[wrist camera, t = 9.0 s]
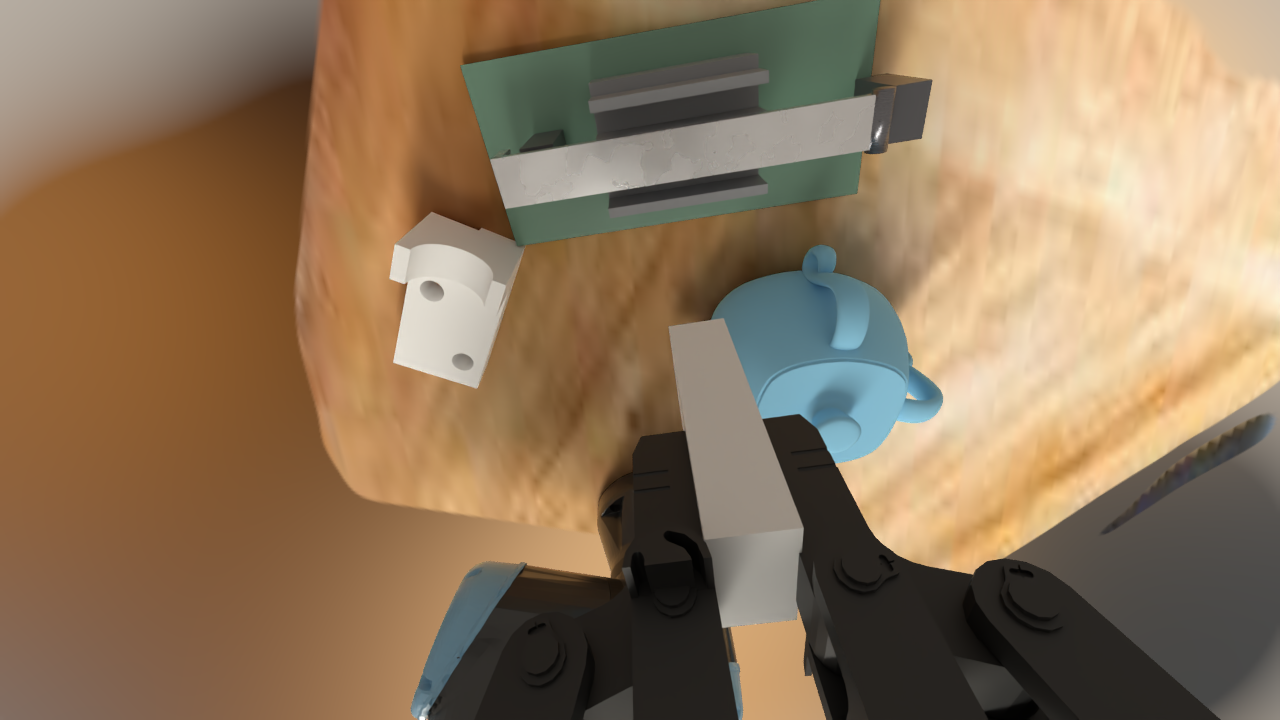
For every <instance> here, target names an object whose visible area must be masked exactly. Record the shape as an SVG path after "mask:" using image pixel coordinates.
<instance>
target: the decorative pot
mask: <svg viewBox="0 0 1280 720" xmlns="http://www.w3.org/2000/svg"><path fill="white" fill-rule="evenodd" d="M835 266H836V253H835V250H834V249H833V248H831V247H829V246H826V245H817V246H814V247H812V248H810V249H809V251H808V252H807V253H806V255H805V257H804V260H803V264H802V270H799V271H790V272H782V273H777V274H772V275H768V276H765V277H761V278H758V279H755V280H752V281H749V282H746V283H744V284H742V285H740V286H739V287H737V288H735V289H734V290H733V291H731V292H730V293H729V294H728V295H726V296H725V297H724V298H723V300H722V301H721V302H720V303H719V304H718V306H717V308H716V309H715V311H714V313H713V315H712V318H711V320H714V319H721V318H724V320H725V323H726V326H727V328H728V331H729V334H730V336H731V339H732V341H733V344H734V347H735V349H736V352H737V354H738V357H739V360H740V362H741V365H742V368H743V370H744V373H745V375H746V378H747V381H748V383H749V386H750V389H751V391H752V394H753V396H754V399H755V402H756V404H757V407H758V409H759V412H760V415H761V417H762V419H765V418H772V417H780V416H787V415H794V414H800V415H802V416H803V417H804V418H805V419H806V420H808V421H809V422H810V423H811V424H812V425H814V426H815V427H816V428H817V429H818V431H819V433H820V435H821V437H822V438H823V440H824V442H825V444H826V446H827V450H828V451H829V452H830V454H831V456H832V458H833V460H834V462H835V463H841V462H846V461H851V460H854V459H858V458H860V457H863V456H865V455H867V454H869V453H871V452H873V451H874V450H876V449H877V448H878V447H879V446H880V445H881V444H882V442H883V441H884V440H885V439H886V437H887V436H888V434H889V433H890V431H891V429H892V428H893V426H894V424H895V422H896V421H901V422H907V423H920V422H925V421H927V420H929V419H931V418H932V417H934V416H935V415H936V414H937V413H938V411H939V410H940V408H941V406H942V403H943V395H942V392H941V391H940V389H939V388H938V387H937V386H936V385H935V384H934V383H933V382H932V381H931V380H930V379H929V378H927V377H926V376H925V375H923V374H922V373H921V372H919V371H918V370H916V369H915V368H913V367H912V365H913V359H912V356H911V355H910V353H909V352H908V346H907V339H906V336H905V333H904V330H903V327H902V324H901V322H900V320H899V317H898V315H897V314H896V312H895V310H894V309H893V307H892V306H891V304H890V303H889V301H888V300H887V299H886V298H885V297H884V295H883V294H881V293H880V292H879V291H878V290H877V289H876V288H874V287H872V286H870V285H869V284H867V283H865V282H862V281H860V280H857V279H855V278H852V277H850V276H847V275H843V274H838V273H833V271H834V269H835ZM907 392H908V393H910V394H911V395H912V396H913V397H914V398H916V399H917V400H912V399H906V395H907Z"/></svg>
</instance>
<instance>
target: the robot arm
mask: <svg viewBox="0 0 1280 720" xmlns="http://www.w3.org/2000/svg"><path fill="white" fill-rule="evenodd" d="M668 327H669V334H670V342H671V349H672V356H673V364H674V371H675V378H676V386H677V393H678V400H679V407H680V413H681V419H682V425H683V431H679V432H672V433H664V434H657V435H650V436H642V437H641V438H640V440H639V442H638V444H637V446H636V449H635V451H634V453H633V473H630V474H628V475H626V476H623V477H622V478H620V479H618V480H617V481H615V482H614V483H612V484H611V485H610V486H609V487H608V488H607V489H606V490H605V492H604V493H603V495H602V496H601V498H600V501H599V505H598V518H597V525H598V531H599V535H600V538H601V541H602V544H603V548H604V551H605V554H606V557H607V560H608V563H609V567H610V570H611V578H606V577H600V576H593V575H587V574H581V573H574V572H568V571H560V570H554V569H548V568H541V567H535V566H528V565H527V563H525V562H521V563H520V564H511V563H501V562H490V561H489V562H482V563H479V564H477V565H476V566H474V567H473V568H472V569H471V570H470V571H469V572H468V573H467V574H466V575H465V577H464V579H463V580H462V582H461V584H460V586H459V588H458V590H457V592H456V594H455V596H454V598H453V600H452V602H451V604H450V607H449V609H448V611H447V613H446V615H445V618H444V620H443V622H442V625H441V627H440V629H439V632H438V634H437V636H436V639H435V642H434V644H433V646H432V649H431V651H430V654H429V656H428V659H427V661H426V664H425V667H424V670H423V674H422V676H421V679H420V682H419V686H418V688H417V690H416V692H415V695H414V698H413V701H412V706H411V713H412V715H413V716H414V717H415V718H417V719H418V720H426V719H428V720H742V716H743V704H742V695H741V686H740V676H739V673H740V667H739V664H738V663H737V660H736V655H735V649H734V643H733V638H732V633H731V627H735V626H744V625H753V624H762V623H771V622H780V621H789V620H797V611H798V609H799V612H800V615H801V618H802V621H803V625H804V628H805V631H806V642H805V652H804V670H805V676H811V675H812V674H813V677H814V680H815V683H816V687H817V690H818V693H819V696H820V700H821V703H822V706H823V710H824V713H825V716H826V720H1220V719H1219V718H1218V717H1216V715H1215V714H1213V713H1212V712H1211V711H1210V710H1209V709H1208V708H1207V707H1205V706H1204V705H1203V704H1202V703H1201V702H1200V701H1199V700H1198V699H1196V698H1195V697H1194V696H1193V695H1192V694H1190V692H1189V691H1187V690H1186V689H1185V688H1184V687H1183V686H1182V685H1181V684H1180V683H1178V682H1177V681H1176V680H1175V679H1174V678H1173V677H1172V676H1170V675H1169V674H1168V673H1167V672H1166V671H1165V670H1164V669H1162V668H1161V667H1160V666H1159V665H1158V664H1157V663H1156V662H1155V661H1154V660H1152V659H1151V658H1150V657H1149V656H1148V655H1147V654H1146V653H1144V652H1143V651H1142V650H1141V649H1140V648H1139V647H1138V646H1136V645H1135V644H1134V643H1133V642H1132V641H1131V640H1130V639H1129V638H1127V637H1126V636H1125V635H1124V634H1123V633H1122V632H1121V631H1120V630H1118V629H1117V628H1116V627H1115V626H1114V625H1113V624H1112V623H1110V622H1109V621H1108V620H1107V619H1106V618H1105V617H1104V616H1102V615H1101V614H1100V613H1099V612H1098V611H1097V610H1096V609H1095V608H1093V607H1092V606H1091V605H1090V604H1089V603H1088V602H1087V601H1086V600H1084V599H1083V598H1082V597H1081V596H1080V595H1079V594H1078V593H1076V592H1075V591H1074V590H1073V589H1072V588H1071V587H1070V586H1068V585H1067V584H1065V583H1064V582H1063V581H1061V580H1060V579H1058V578H1057V577H1056V576H1054V575H1053V574H1051V573H1050V572H1048V571H1046V570H1043V569H1041V568H1039V567H1036V566H1034V565H1032V564H1029V563H1027V562H1023V561H1017V560H1010V559H998V560H992V561H987V562H985V563H984V564H983V565H981V566H980V567H979V568H977V569H976V570H975V572H974V575H972V574H967V573H961V572H956V571H950V570H945V569H939V568H933V567H928V566H924V565H921V564H917V563H913V562H911V561H909V560H906V559H904V558H902V557H900V556H898V555H896V554H895V553H894V552H893V551H891V550H890V549H889V548H887V547H886V546H884V545H883V544H882V543H881V542H880V541H879V540H878V539H877V538H876V537H875V536H874V534H873V533H872V532H871V530H870V529H869V527H868V525H867V523H866V521H865V519H864V518H863V516H862V514H861V512H860V510H859V508H858V506H857V504H856V502H855V500H854V498H853V496H852V494H851V492H850V491H849V489H848V487H847V485H846V483H845V481H844V479H843V477H842V475H841V473H840V471H839V469H838V467H836V465H835V462H834V460H833V458H832V456H831V454H830V452H829V451H828V450H827V446H826V444H825V442H824V440H823V438H822V437H821V435H820V433H819V431H818V429H817V428H816V427H815V426H814V425H812V424H811V423H810V422H809V421H808V420H806V419H805V418H804V417H803V416H802V415H800V414H794V415H787V416H780V417H772V418H765V419H762V417H761V415H760V412H759V409H758V407H757V404H756V402H755V399H754V396H753V394H752V391H751V389H750V386H749V383H748V381H747V378H746V375H745V373H744V370H743V368H742V365H741V362H740V360H739V357H738V354H737V352H736V349H735V347H734V344H733V341H732V339H731V336H730V334H729V331H728V328H727V326H726V323H725V320H724V318H721V319H714V320H708V321H701V322H694V323H688V324H681V325H674V326H668Z"/></svg>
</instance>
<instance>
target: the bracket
mask: <svg viewBox="0 0 1280 720" xmlns="http://www.w3.org/2000/svg"><path fill="white" fill-rule="evenodd" d="M525 247H526V245H523V246H517V244H516V241H514V240H511V239H509V238H506V237H504V236H501V235H499V234H496V233H493V232H491V231H488V230H486V229H483V228H481V229H480V230H476V229H474V228H471V227H469V226H466V225H464V224H461V223H459V222H456V221H454V220H451V219H449V218H446V217H444V216H441V215H439V214H436V213H434V212H431V213H430V214H429V215H427V216H426V217H425V218H424V219H423V220H422V221H421V222H419V223H418V224H417V225H416V226H415V227H414V228H413V229H411V230H410V231H409V232H408V233H407V234H406V235H405V236H403V237H402V238H401V239H400V240H399V241H398V242H397V243H395V246H394V253H393V259H392V265H391V272H390V278H389V279H391V280H394V281H397V282H399V283H402V284H405V283H406V282H408V284H407V290H406V295H405V301H404V306H403V312H402V317H401V323H400V328H399V334H398V339H397V345H396V350H395V356H394V361H393V363H396V364H399V365H402V366H406V367H409V368H412V369H415V370H419V371H422V372H425V373H428V374H431V375H435V376H438V377H441V378H444V379H448V380H451V381H454V382H457V383H460V384H464V385H467V386H470V387H473V388H478V386H479V383H480V381H481V379H482V376H483V374H484V372H485V370H486V367H487V364H488V361H489V358H490V355H491V352H492V349H493V346H494V342H495V339H496V336H497V333H498V330H499V327H500V324H501V321H502V318H503V315H504V312H505V308H506V305H507V302H508V299H509V296H510V293H511V290H512V287H513V284H514V281H515V278H516V274H517V271H518V268H519V265H520V262H521V259H522V256H523V253H524V250H525ZM435 282H436V283H438V284H439V285H438V284H436V283H435Z"/></svg>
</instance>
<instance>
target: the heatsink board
mask: <svg viewBox="0 0 1280 720" xmlns="http://www.w3.org/2000/svg"><path fill="white" fill-rule="evenodd" d="M879 7H880V0H817V1H812V2H806V3H801V4H795V5H790V6H784V7H779V8H773V9H768V10H762V11H757V12H751V13H746V14H740V15H735V16H729V17H724V18H718V19H713V20H707V21H702V22H696V23H691V24H685V25H680V26H674V27H669V28H663V29H658V30H652V31H647V32H641V33H636V34H630V35H625V36H619V37H614V38H608V39H603V40H597V41H592V42H586V43H581V44H575V45H570V46H564V47H559V48H554V49H548V50H543V51H537V52H532V53H526V54H521V55H515V56H510V57H504V58H499V59H493V60H488V61H482V62H477V63H471V64H466V65H460V66H461V70H462V73H463V76H464V79H465V82H466V86H467V89H468V92H469V95H470V98H471V101H472V105H473V108H474V111H475V114H476V117H477V120H478V124H479V127H480V130H481V133H482V136H483V140H484V143H485V146H486V149H487V152H488V155H489V159H491V158H493V157H494V156H495V155H496V154H497V153H498V152H499V151H500V150H506V149H510V150H511V154H516V153H522V152H528V151H534V150H540V149H546V148H552V147H558V146H564V145H569V144H575V143H581V142H587V141H593V140H599V139H605V138H611V137H617V136H623V135H629V134H635V133H641V132H646V131H652V130H658V129H664V128H670V127H676V126H682V125H688V124H694V123H700V122H706V121H712V120H718V119H723V118H729V117H735V116H741V115H747V114H753V113H759V112H765V111H771V110H777V109H783V108H789V107H795V106H800V105H806V104H812V103H818V102H824V101H830V100H836V99H842V98H848V97H854V96H860V95H866V94H871V91H872V89H874V88H878V87H885V86H896V94H895V101H894V107H893V114H892V121H891V128H890V134H889V141H888V144H891V143H897V142H903V141H909V140H915V139H922V134H923V128H924V123H925V118H926V112H927V107H928V101H929V96H930V91H931V85H932V80H931V79H923V78H916V77H908V76H900V75H892V74H883V75H877V76H871V74H872V65H873V57H874V49H875V40H876V32H877V24H878V15H879ZM861 157H862V151H861V152H854V153H848V154H842V155H836V156H830V157H824V158H817V159H811V160H805V161H799V162H793V163H786V164H780V165H774V166H768V167H762V168H755V169H749V170H743V171H737V172H731V173H725V174H718V175H712V176H706V177H700V178H694V179H687V180H681V181H675V182H669V183H663V184H656V185H650V186H644V187H638V188H632V189H625V190H619V191H613V192H607V193H601V194H595V195H588V196H582V197H576V198H570V199H564V200H557V201H551V202H545V203H539V204H533V205H526V206H520V207H514V208H508V209H506V213H507V216H508V219H509V222H510V225H511V229H512V232H513V235H514V238H515V241H516V244H517V246H523V245H529V244H536V243H542V242H549V241H555V240H561V239H568V238H574V237H581V236H587V235H594V234H600V233H606V232H613V231H619V230H626V229H632V228H639V227H645V226H652V225H658V224H664V223H671V222H677V221H684V220H690V219H697V218H703V217H710V216H716V215H722V214H729V213H735V212H742V211H748V210H755V209H761V208H767V207H774V206H780V205H787V204H793V203H800V202H806V201H813V200H819V199H825V198H832V197H838V196H845V195H851V194H857V191H858V183H859V174H860V166H861ZM490 162H491V161H490ZM491 165H492V164H491ZM492 168H493V167H492ZM494 175H495V174H494ZM495 178H496V177H495ZM496 181H497V180H496ZM497 184H498V183H497ZM500 194H501V193H500ZM501 197H502V196H501ZM502 200H503V199H502ZM503 203H504V202H503Z"/></svg>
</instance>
